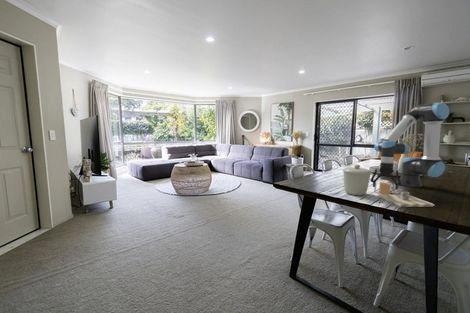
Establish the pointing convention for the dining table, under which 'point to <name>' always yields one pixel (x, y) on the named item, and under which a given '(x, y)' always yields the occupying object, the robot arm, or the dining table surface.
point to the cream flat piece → (405, 200)
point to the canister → (356, 180)
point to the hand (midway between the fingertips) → (384, 192)
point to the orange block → (384, 188)
